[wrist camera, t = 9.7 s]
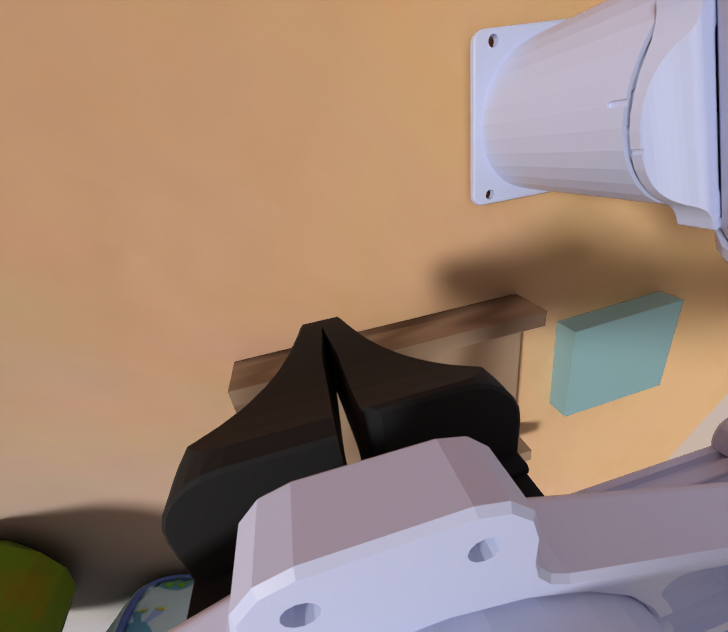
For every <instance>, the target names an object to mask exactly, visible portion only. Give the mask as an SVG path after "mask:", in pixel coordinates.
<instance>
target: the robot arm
mask: <svg viewBox="0 0 728 632" xmlns="http://www.w3.org/2000/svg"><path fill="white" fill-rule="evenodd" d="M489 37H492V38H493V40H494V44H493V47H490V45H489V43H488V40H489ZM470 101H471V201H472V202H473V203H474V204H476V205H485V204H490V203H495V202H500V201H505V200H510V199H515V198H520V197H525V196H530V195H535V194H540V193H545V192H550V191H555V192H563V193H572V194H580V195H589V196H597V197H606V198H614V199H623V200H632V201H640V202H649V203H657V204H666V205H669V206H670V207H671V208H672V209H673V211H674V212H675V214H676V218H677V223H678V224H680V225H686V226H692V227H698V228H705V229H711V230H715V241H716V246H717V249H718V251H719V253H720V254H721V256H722V257H723V259H724V260H725V261H727V262H728V0H607V1H605V2H602V3H600V4H598V5H596V6H594V7H592V8H590V9H588V10H586V11H584V12H582V13H580V14H578V15H576V16H574V17H571V18H569V19H561V20H553V21H544V22H536V23H528V24H519V25H511V26H503V27H494V28H486V29H482V30H479V31H478V32H476V33H475V34H474V35H473V37H472V39H471V44H470ZM488 190H490V196H489V197H488V198H486V193H487V191H488ZM337 393H338V396H339V399H340V401H341V404H342V407H343V409H344V412H345V415H346V417H347V420H348V423H349V425H350V428H351V431H352V433H353V436H354V438H355V441H356V444H357V447H358V450H359V454H360V457H361V461H358V462H355V463H352V464H348V465H347V461H346V457H345V451H344V445H343V437H342V429H341V421H340V413H339V405H338V397H337ZM519 427H520V411H519V406H518V404H517V402H516V400H515V398H514V397H513V396H512V395H511V394H510V393H509V392H508V391H507V390H506V389H505V387H504V386H503V385H502V384H501V383H500V382H499V381H498V380H497V379H496V378H495V377H493V376H492V375H491V374H490V373H489V372H488V371H486V370H485V369H484V368H483V367H479V366H464V365H450V364H443V363H437V362H431V361H426V360H421V359H417V358H414V357H410V356H406V355H403V354H400V353H397V352H395V351H392V350H390V349H387V348H385V347H382V346H380V345H378V344H376V343H374V342H373V341H371V340H369V339H367V338H366V337H364V336H363V335H361V334H360V333H358V332H357V331H355V330H354V329H352V328H351V327H350V326H349V325H347V324H346V323H345V322H344V321H343V320H341V319H340V318H338V317H334V318H330V319H326V320H321V321H317V322H313V323H309V324H304V325H302V327H301V328H300V331H299V334H298V336H297V339H296V341H295V343H294V345H293V347H292V349H291V351H290V353H289V355H288V356H287V358H286V360H285V361H284V363H283V364H282V366H281V368H280V369H279V371H278V372H277V373H276V375H275V376H274V377H273V379H272V380H271V381H270V382H269V383H268V384H267V386H266V387H265V388H264V389H263V390H262V391H261V392H260V393H259V394H258V395H257V396H256V397H255V398H254V399H253V400H251V401H250V402H249V403H248V404H247V405H246V406H245V407H244V408H243V409H241V410H240V411H239V412H238V413H237V414H235V415H234V416H233V417H231V418H230V419H229V420H227V421H226V422H225V423H223V424H222V425H221V426H219V427H218V428H216V429H215V430H213V431H212V432H210V433H209V434H207V435H205V436H204V437H202V438H201V439H199V440H198V441H196V442H195V443H193V444H191V445H190V446H188V447H187V449H186V451H185V454H184V456H183V458H182V460H181V463H180V465H179V467H178V470H177V473H176V475H175V478H174V481H173V484H172V487H171V490H170V493H169V497H168V500H167V503H166V506H165V509H164V512H163V515H162V531H163V533H164V536H165V538H166V540H167V542H168V544H169V545H170V547H171V548H172V550H173V551H174V553H175V554H176V555H177V557H178V558H179V560H180V561H181V563H182V564H183V565H184V567H185V568H186V570H187V571H188V573H189V574H190V576H191V577H192V578H193V580H194V585H193V590H192V595H191V600H190V605H189V610H188V615H187V620H186V621H184V622H182V623H181V624H179V625H177V626H175V627H174V628H172V629H170V630H169V631H167V632H728V418H727V419H725V420H724V421H723V422H722V423H721V424H719V426H718V427H717V429H716V430H715V433H714V435H713V438H712V441H711V446H709V447H706V448H704V449H701V450H697V451H694V452H692V453H689V454H686V455H683V456H680V457H677V458H674V459H671V460H668V461H665V462H662V463H659V464H656V465H654V466H651V467H648V468H645V469H642V470H639V471H636V472H633V473H630V474H627V475H624V476H621V477H618V478H616V479H613V480H610V481H607V482H604V483H601V484H598V485H595V486H592V487H589V488H586V489H583V490H580V491H578V492H575V493H572V494H566V495H553V496H544V495H543V494H542V492H541V491H540V490H539V489H538V487H537V486H536V485H535V483H534V482H533V481H532V480H531V478H530V477H529V476H528V475H527V473H528V472H529V468H528V465H527V463H526V462H525V461H524V460H523V458H522V457H521V456H520V455H519V453H518V452H517V451H518V439H519Z"/></svg>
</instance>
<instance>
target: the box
mask: <svg viewBox="0 0 728 632" xmlns="http://www.w3.org/2000/svg"><path fill="white" fill-rule="evenodd" d="M546 314H547V311H546V310H544V309H542V308H540V307H538V306H537V305H535V304H533V303H531V302H530V301H528V300H526V299H524V298H523V297H521V296H519V295H517V294H513V295H509V296H505V297H501V298H497V299H493V300H488V301H484V302H480V303H476V304H472V305H468V306H464V307H460V308H455V309H451V310H447V311H443V312H439V313H435V314H431V315H427V316H422V317H418V318H414V319H410V320H406V321H402V322H398V323H394V324H390V325H385V326H381V327H377V328H373V329H369V330H365V331H361V332H358V333H360V334H361V335H363V336H364V337H366V338H367V339H369V340H371V341H373V342H374V343H376V344H378V345H380V346H382V347H385V348H387V349H390V350H392V351H395V352H397V353H400V354H403V355H406V356H410V357H414V358H417V359H421V360H426V361H431V362H437V363H443V364H450V365H464V366H479V367H483V368H484V369H485V370H486V371H488V372H489V373H490V374H491V375H492V376H493V377H495V378H496V379H497V380H498V381H499V382H500V383H501V384H502V385H503V386H504V387H505V389H506V390H507V391H508V392H509V393H510V394H511V395H512V396H513V397H514V398H515V400H516V393H517V379H518V366H519V353H520V339H521V332H522V331H526V330H530V329H534V328H538V327H542V326H545V323H546ZM291 349H292V348H291ZM291 349H286V350H282V351H278V352H274V353H270V354H266V355H262V356H258V357H253V358H249V359H245V360H241V361H237V362H234V367H233V371H232V376H231V381H230V385H229V390H228V394H229V396H230V398H231V401H232V403H233V406H234V408H235V410H236V413H238V412H239V411H240V410H241V409H243V408H244V407H245V406H246V405H247V404H248V403H249V402H250V401H251V400H253V399H254V398H255V397H256V396H257V395H258V394H259V393H260V392H261V391H262V390H263V389H264V388H265V387H266V386H267V384H268V383H269V382H270V381H271V380H272V379H273V377H274V376H275V375H276V373H277V372H278V371H279V369H280V368H281V366H282V364H283V363H284V361H285V360H286V358H287V356H288V355H289V353H290V351H291ZM337 397H338V405H339V413H340V421H341V429H342V437H343V445H344V451H345V457H346V461H347V465H348V464H352V463H355V462H358V461H361V457H360V454H359V450H358V447H357V444H356V441H355V438H354V436H353V433H352V431H351V428H350V425H349V423H348V420H347V417H346V415H345V412H344V409H343V407H342V404H341V401H340V399H339V396H338V393H337ZM517 452H518V453H519V455H520V456H521V457H522V458H523V460H524V461H527V460H530V459H531V449H530V448H529V447H528V446H527V445H526V444H525V442H524V441H523V440H522V439H521V438H520V437H519V439H518V451H517Z"/></svg>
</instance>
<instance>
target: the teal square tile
mask: <svg viewBox="0 0 728 632" xmlns="http://www.w3.org/2000/svg"><path fill="white" fill-rule="evenodd" d="M683 300H684V299H681V298H678V297H675V296H672V295H669V294H666V293H663V292H661V291H659V292H656V293H652V294H649V295H646V296H642V297H639V298H636V299H632V300H629V301H625V302H622V303H619V304H615V305H612V306H608V307H605V308H602V309H598V310H595V311H592V312H588V313H585V314H581V315H578V316H575V317H571V318H568V319H564V320H561V321H558V322H557V328H556V339H555V350H554V361H553V372H552V383H551V394H550V404H551V405H552V406H554V407H555V408H556V409H557V410H558V411H559V412H560V413H561V414H562V415H564V416H565V417H566V416H568V415H571V414H574V413H577V412H580V411H583V410H586V409H589V408H592V407H595V406H598V405H601V404H604V403H607V402H610V401H613V400H616V399H619V398H622V397H625V396H628V395H631V394H634V393H637V392H640V391H643V390H646V389H649V388H652V387H655V386H658V385H660V382H661V378H662V375H663V371H664V368H665V364H666V361H667V357H668V353H669V350H670V346H671V343H672V339H673V336H674V332H675V329H676V325H677V321H678V318H679V314H680V311H681V307H682V304H683Z"/></svg>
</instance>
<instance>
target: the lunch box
mask: <svg viewBox="0 0 728 632" xmlns="http://www.w3.org/2000/svg"><path fill="white" fill-rule="evenodd" d="M193 585H194V580H193V578H192V577H191V576H190V574H179V575H172V576H166V577H162V578H159V579H157V580H155V581H152V582H150V583H148V584H146V585H144V586H143V587H141V588H140V589H139V590H138V591H137V592H136V593H135V594H134V595H133V596H132V597H131V598H130V599H129V601H128V602H127V603H126V604H125V606H124V607H123V608H122V610H121V611H120V613H119V615H118V616H117V618H116V619H115V620H114V622H113V623H112V624H111V626H110V627H109V628H108V630H107V631H106V632H167V631H169V630H170V629H172V628H174V627H175V626H177V625H179V624H181V623H182V622H184V621H186V620H187V615H188V610H189V605H190V600H191V595H192V590H193Z"/></svg>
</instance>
